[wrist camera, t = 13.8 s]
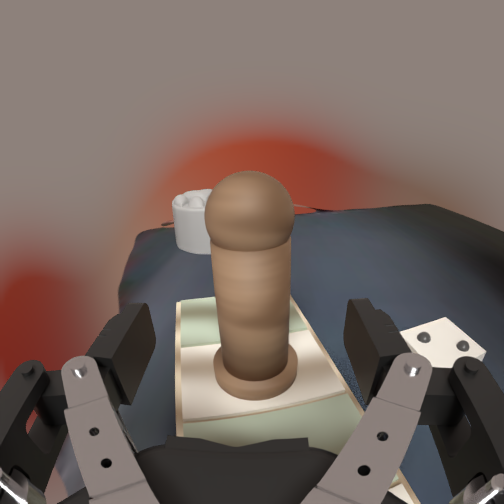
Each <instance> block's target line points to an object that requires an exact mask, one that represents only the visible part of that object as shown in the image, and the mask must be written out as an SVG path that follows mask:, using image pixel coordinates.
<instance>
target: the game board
mask: <svg viewBox="0 0 504 504" xmlns="http://www.w3.org/2000/svg"><path fill="white" fill-rule="evenodd" d="M289 344H290V345H291V346H292V347H293V348H294V350H295V351H296V354H297V357H298V365H297V376H296V379H295V381H294V383H293V384H292V386H291V387H290V388H289V389H288V390H287V391H285V392H284V393H282V394H281V395H279V396H276V397H274V398H271V399H267V400H260V401H249V400H243V399H239V398H236V397H233V396H231V395H229V394H228V393H226V392H225V391H224V390H223V389H221V387H220V386H219V385H218V383H217V381H216V378H215V372H214V365H213V359H214V355H215V353H216V352H217V350H218V349H219V348H220V347H221V342H220V334H219V325H218V316H217V307H216V298H215V297H209V298H200V299H191V300H182V301H181V302H177V307H176V342H175V402H176V435H177V436H179V437H190V438H201V439H205V440H209V441H212V442H216V443H220V444H224V445H228V446H233V447H240V446H245V445H250V444H255V443H259V442H264V441H268V440H272V439H291V438H305V437H308V442H309V447H316V448H320V449H324V450H327V451H330V452H332V453H335V454H337V455H339V453H340V452H341V450H342V449H343V447H344V446H345V444H346V443H347V441H348V439H349V438H350V436H351V435H352V433H353V431H354V430H355V428H356V426H357V425H358V423H359V421H360V420H361V418H362V416H363V415H364V413H365V412H364V411H363V409H362V408H361V406H360V404H359V403H358V401H357V399H356V398H355V396H354V395H353V393H352V391H351V390H350V388H349V387H348V385H347V383H346V382H345V380H344V379H343V377H342V376H341V374H340V372H339V371H338V369H337V368H336V366H335V364H334V363H333V361H332V360H331V358H330V356H329V355H328V353H327V352H326V350H325V349H324V347H323V345H322V344H321V342H320V341H319V339H318V337H317V336H316V334H315V333H314V331H313V330H312V328H311V326H310V325H309V323H308V322H307V320H306V319H305V317H304V315H303V314H302V312H301V311H300V309H299V308H298V306H297V304H296V303H295V301H294V300H293V298H292V297H291V295H290V318H289ZM388 491H390V492H391V493H393V494H394V495H396V496H397V497H399V498H400V499H402V500H403V501H405V502H406V503H408V504H420V502H419V500H418V499H417V497H416V495H415V494H414V492H413V490H412V489H411V487H410V485H409V484H408V482H407V480H406V479H405V477H404V476H403V474H402V472H401V471H400V469H398V471H397V473H396V475H395V477H394V479H393V481H392V483H391V485H390V487H389V489H388Z"/></svg>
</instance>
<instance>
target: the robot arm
mask: <svg viewBox="0 0 504 504" xmlns="http://www.w3.org/2000/svg"><path fill="white" fill-rule="evenodd" d="M155 344H156V337H155V332H154V328H153V324H152V319H151V315H150V311H149V307H148V305H147V304H146V303H128V304H127V306H126V307H125V308H124V310H123V311H122V313H121V314H117V315H116V316H114V317H113V318H112V319H110V320H109V321H108V322H107V324H106V325H105V327H104V328H103V330H102V331H101V332H100V334H99V336H98V337H97V338H96V340H95V341H94V343H93V344H92V346H91V347H90V349H89V350H88V352H87V353H86V355H85V356H78V357H75V358H72V359H70V360H69V361H67V362H66V363H65V365H64V366H63V368H62V370H56V371H46V370H45V368H44V366H43V364H42V363H41V362H40V361H37V360H30V361H26V362H24V363H22V364H21V365H19V366H18V367H17V368H16V370H15V371H14V372H13V374H12V375H11V377H10V378H9V380H8V381H7V382H6V384H5V385H4V387H3V388H2V390H1V391H0V504H46V498H45V496H44V492H45V489H46V486H47V484H48V481H49V478H50V475H51V473H52V470H53V468H54V465H55V462H56V460H57V457H58V455H59V452H60V450H61V447H62V445H63V442H64V440H65V438H66V435H67V433H68V431H69V434H70V438H71V442H72V445H73V449H74V452H75V455H76V459H77V462H78V465H79V468H80V471H81V474H82V477H83V480H84V482H85V485H86V487H84V488H82V489H81V490H79V491H78V492H76V493H74V494H73V495H71V496H69V497H68V498H66V499H64V500H63V501H61V502H59V503H57V504H408V503H406V502H405V501H403V500H402V499H400V498H399V497H397V496H396V495H394V494H393V493H391V492H390V491H388V489H389V487H390V485H391V483H392V481H393V479H394V477H395V475H396V473H397V471H398V469H399V467H400V464H401V462H402V460H403V458H404V455H405V453H406V451H407V448H408V446H409V444H410V441H411V439H412V436H413V434H414V431H415V428H416V426H417V425H429V427H430V430H431V433H432V435H433V438H434V441H435V444H436V446H437V449H438V452H439V455H440V458H441V461H442V464H443V467H444V470H445V473H446V476H447V479H448V482H449V486H450V489H451V492H452V496H453V498H452V499H451V501H450V502H449V504H504V394H503V392H502V391H501V389H500V387H499V386H498V384H497V383H496V381H495V380H494V378H493V377H492V375H491V373H490V372H489V370H488V369H487V367H486V366H485V365H484V363H482V362H481V361H480V360H478V359H477V358H474V357H470V356H463V357H460V358H458V359H456V361H455V362H454V364H453V367H452V368H441V367H432V365H431V363H430V361H429V360H428V359H427V358H425V357H424V356H422V355H420V354H417V353H412V351H411V350H410V348H409V347H408V345H407V343H406V342H405V340H404V338H403V337H402V335H401V334H400V332H398V329H397V327H396V326H395V325H394V322H393V321H392V319H391V318H390V316H389V315H387V314H386V313H385V312H383V311H382V310H380V309H379V310H375V309H374V307H373V305H372V304H371V302H370V301H369V299H368V298H363V299H350V300H349V301H348V305H347V313H346V320H345V327H344V345H345V348H346V351H347V354H348V356H349V359H350V362H351V365H352V368H353V370H354V373H355V376H356V379H357V382H358V385H359V388H360V391H361V394H362V396H363V399H364V402H365V405H369V406H368V408H367V409H366V411H365V413H364V415H363V416H362V418H361V420H360V421H359V423H358V425H357V426H356V428H355V430H354V431H353V433H352V435H351V436H350V438H349V439H348V441H347V443H346V444H345V446H344V447H343V449H342V450H341V452H340V453H339V455H337V454H335V453H332V452H330V451H327V450H324V449H320V448H316V447H309V442H308V437H305V438H291V439H272V440H268V441H264V442H259V443H255V444H250V445H245V446H240V447H233V446H228V445H224V444H220V443H216V442H212V441H209V440H205V439H201V438H190V437H179V436H170V435H168V436H167V440H166V444H165V445H158V446H153V447H150V448H147V449H144V450H142V451H139V452H138V450H137V448H136V446H135V444H134V442H133V440H132V438H131V436H130V434H129V432H128V430H127V428H126V426H125V424H124V421H123V419H122V417H121V415H120V413H119V411H118V408H119V406H120V404H124V405H131V404H132V402H133V399H134V397H135V394H136V392H137V389H138V387H139V385H140V382H141V380H142V377H143V375H144V372H145V370H146V368H147V365H148V363H149V361H150V358H151V356H152V353H153V351H154V349H155ZM33 409H34V411H35V412H36V414H37V415H38V416H37V418H36V420H35V422H34V424H33V425H32V427H31V429H30V431H29V433H28V434H27V432H26V422H27V420H28V418H29V416H30V415H31V412H32V411H33ZM465 414H466V416H467V418H468V420H469V422H470V425H471V427H470V425H469V422H468V420H467V418H466V416H465Z"/></svg>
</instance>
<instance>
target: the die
mask: <svg viewBox="0 0 504 504" xmlns="http://www.w3.org/2000/svg"><path fill="white" fill-rule="evenodd" d="M400 334H401V335H402V337H403V338H404V340H405V342H406V343H407V345H408V347H409V348H410V350H411V351H412V353H417V354H420V355H422V356H424V357H425V358H427V359H428V360H429V361H430V363H431V365H432V367H441V368H452V367H453V364H454V362H455V361H456V359H458V358H460V357H463V356H470V357H474V358H477V359H478V360H480V361H481V362H482V360H483V358H484V355H485V353H486V351H485V350H484V349H483V348H481V347H480V346H479V345H478V344H477V343H476V342H475V341H473V340H472V339H471V338H470V337H469V336H468V335H466V334H465V333H464V332H463V331H462V330H461V329H459V328H458V327H457V326H456V325H455V324H453V323H452V322H451V321H450V320H449V319H447V318H446V317H444V318H441V319H438V320H435V321H432V322H429V323H426V324H423V325H420V326H417V327H414V328H411V329H408V330H404V331H401V332H400Z"/></svg>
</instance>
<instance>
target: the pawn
mask: <svg viewBox="0 0 504 504" xmlns="http://www.w3.org/2000/svg"><path fill="white" fill-rule="evenodd" d="M294 218H295V214H294V207H293V202H292V200H291V197H290V195H289V193H288V192H287V190H286V189H285V188H284V187H283V185H282V184H281V183H280V182H278V181H277V180H276V179H275V178H273V177H271V176H269V175H267V174H265V173H261V172H256V171H242V172H238V173H234V174H232V175H230V176H228V177H226V178H225V179H223V180H222V181H220V182H219V183H218V184H217V185H216V186H215V188H214V189H213V190H212V192H211V193H210V195H209V197H208V200H207V202H206V206H205V212H204V220H205V226H206V230H207V233H208V235H209V237H210V248H211V259H212V269H213V279H214V289H215V298H216V307H217V316H218V325H219V334H220V342H221V347H220V348H219V349H218V350H217V352H216V353H215V355H214V359H213V365H214V372H215V378H216V381H217V383H218V385H219V386H220V387H221V389H223V390H224V391H225V392H226V393H228V394H229V395H231V396H233V397H236V398H239V399H243V400H249V401H260V400H267V399H271V398H274V397H276V396H279V395H281V394H282V393H284V392H285V391H287V390H288V389H289V388H290V387H291V386H292V384H293V383H294V381H295V379H296V376H297V365H298V357H297V354H296V351H295V350H294V348H293V347H292V346H291V345H290V344H289V318H290V276H291V236H290V235H291V232H292V229H293V225H294Z"/></svg>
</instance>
